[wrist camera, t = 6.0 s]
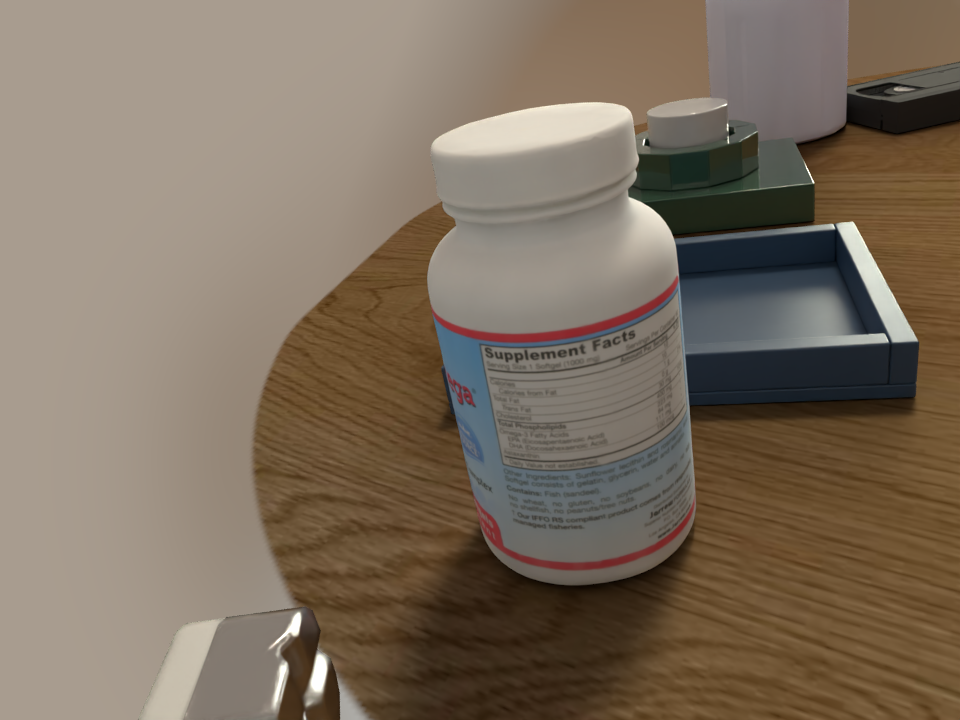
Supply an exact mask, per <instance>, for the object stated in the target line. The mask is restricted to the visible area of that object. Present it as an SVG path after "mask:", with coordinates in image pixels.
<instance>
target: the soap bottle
mask: <svg viewBox="0 0 960 720" xmlns="http://www.w3.org/2000/svg"><path fill="white" fill-rule="evenodd" d="M705 1H706V20H707V40H708V61H709V80H710V98H721V99H725V100H727V101H728V109H729V120H740V121H745V122H750V123H755V124H756V127H757V130H758V142H759V141H767V140H775V139H783V138H791V137H792V138H793V139H794V142H795V144H799V143H804V142H809V141H813V140H817V139H820V138H823V137H826V136H829V135H831V134H833V133H834V132H836V131H838V130H839V129H841V128H842V127H844V125H845V123H846V106H847V58H848V14H849V0H705Z"/></svg>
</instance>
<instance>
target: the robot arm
mask: <svg viewBox="0 0 960 720" xmlns="http://www.w3.org/2000/svg"><path fill="white" fill-rule="evenodd" d="M320 632H321V630H320V628H319V625H318V623H317V620H316V618H315V615H314V613H313V610H311V609H309V608H307V607H299V608H291V609H284V610H277V611H270V612H262V613H254V614H247V615H239V616H232V617H226V618H225V619H216V620H208V621H201V622H194V623H186V624H185V625H184V626H183V627H181V628H180V629H179V630H178V631H177V632H176V633H175V635H174V638H173V640H172V642H171V645H170V647H169V649H168V652H167V654H166V656H165V659H164V661H163V663H162V665H161V668H160V670H159V672H158V675H157V677H156V679H155V682H154V684H153V686H152V688H151V691H150V693H149V695H148V698H147V700H146V702H145V705H144V707H143V709H142V712H141V714H140V716H139V719H138V720H340V692H339V687H338V682H337V677H336V672H335V669H334V666H333V664H332V661H331V658H330V657H328V656H327V655H325V654H324V653H322V652H321V651H319V650H318V649H317V647H318V642H319V637H320Z"/></svg>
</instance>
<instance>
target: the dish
mask: <svg viewBox="0 0 960 720" xmlns="http://www.w3.org/2000/svg"><path fill="white" fill-rule="evenodd" d="M674 241H675V245H676V252H677V261H678V270H679V283H680V296H681V309H682V321H683V334H684V347H685V359H686V372H687V383H688V395H689V406H690V405H717V404H744V403H771V402H797V401H824V400H851V399H878V398H904V397H915V396H916V381H917V366H918V351H919V342H918V340H917V338H916V336H915V334H914V332H913V331H912V329H911V327H910V325H909V323H908V321H907V320H906V318H905V316H904V314H903V312H902V310H901V308H900V307H899V305H898V303H897V301H896V299H895V297H894V296H893V294H892V292H891V290H890V288H889V286H888V285H887V283H886V281H885V279H884V277H883V275H882V274H881V272H880V270H879V268H878V266H877V264H876V262H875V261H874V259H873V257H872V255H871V253H870V251H869V250H868V248H867V246H866V244H865V242H864V240H863V239H862V237H861V235H860V233H859V231H858V229H857V228H856V226H855V224H854V222H846V223H836V224H826V225H815V226H804V227H794V228H783V229H773V230H762V231H751V232H741V233H730V234H720V235H709V236H698V237H688V238H677V239H674ZM441 369H442V374H443V378H444V383H445V387H446V392H447V396H448V400H449V402H450V403H449V406H450V410H451V414H455V411H454V407H453V403H452V398H451V394H450V389H449V384H448V380H447V377H446V371H445V366H444V364H443V366H442V368H441Z"/></svg>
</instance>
